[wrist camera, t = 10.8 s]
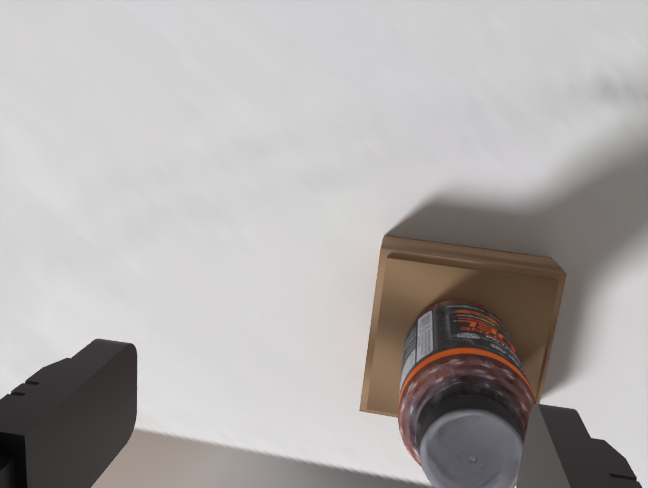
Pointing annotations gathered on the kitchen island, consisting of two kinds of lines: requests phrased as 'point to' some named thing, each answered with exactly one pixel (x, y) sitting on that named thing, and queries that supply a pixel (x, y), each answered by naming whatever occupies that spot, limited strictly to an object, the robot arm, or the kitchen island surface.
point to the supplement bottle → (463, 397)
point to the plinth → (457, 284)
